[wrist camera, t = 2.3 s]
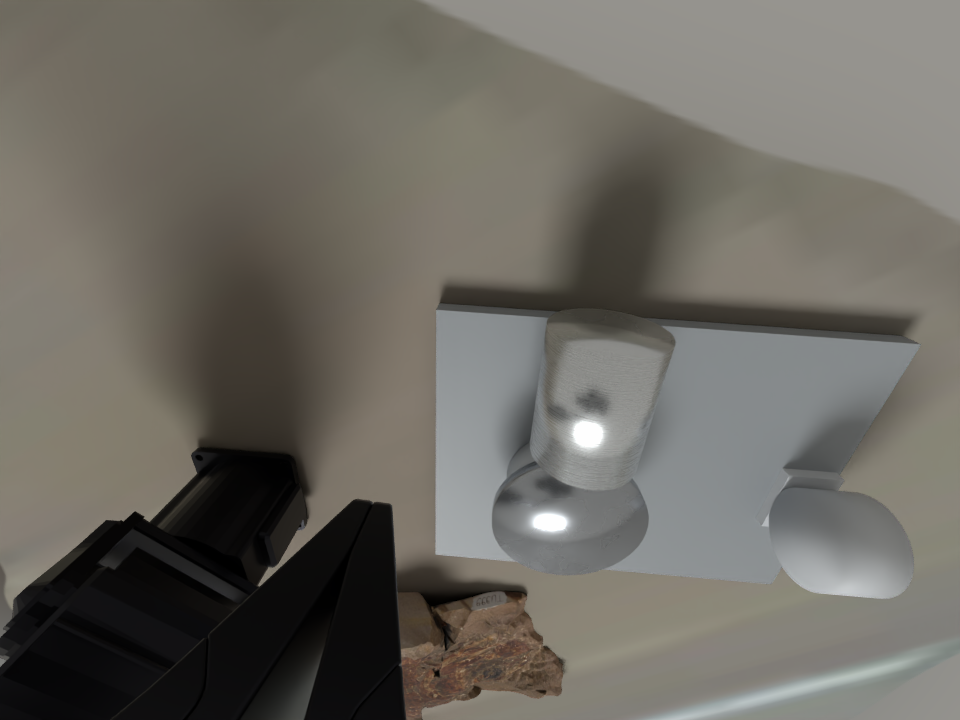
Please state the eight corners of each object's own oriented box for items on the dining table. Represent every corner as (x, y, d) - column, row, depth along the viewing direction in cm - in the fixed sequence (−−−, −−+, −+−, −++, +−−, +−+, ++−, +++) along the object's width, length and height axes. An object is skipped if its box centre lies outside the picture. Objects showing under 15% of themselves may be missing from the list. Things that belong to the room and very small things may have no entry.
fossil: (566, 586, 30) (576, 654, 26) (560, 690, 38) (567, 756, 33) (321, 583, 32) (293, 647, 28) (360, 684, 39) (343, 746, 35)
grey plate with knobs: (437, 542, 28) (420, 640, 22) (439, 303, 20) (412, 361, 14) (762, 570, 28) (831, 679, 22) (902, 335, 19) (1071, 410, 14)
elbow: (615, 535, 25) (639, 617, 20) (489, 524, 25) (485, 603, 20) (683, 314, 18) (742, 365, 14) (509, 302, 18) (510, 348, 14)
